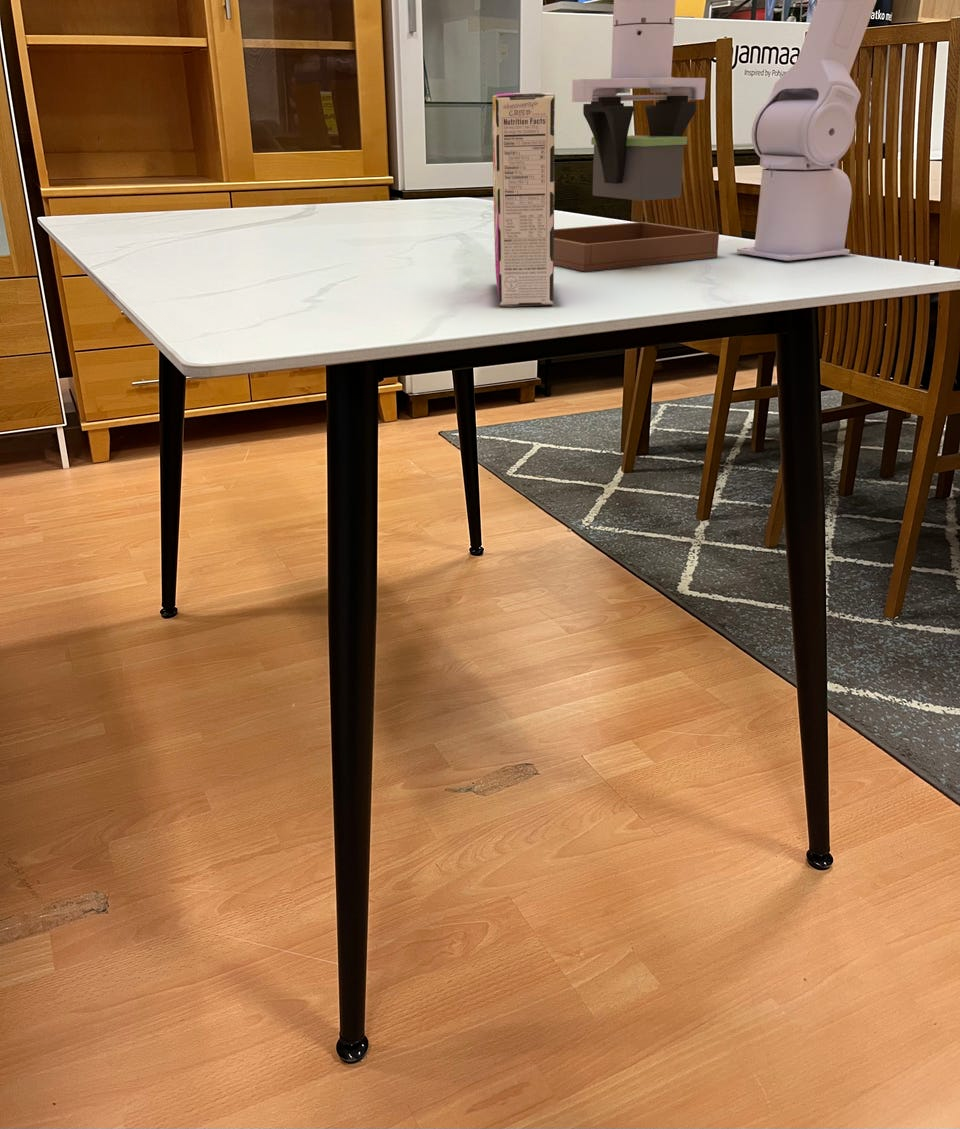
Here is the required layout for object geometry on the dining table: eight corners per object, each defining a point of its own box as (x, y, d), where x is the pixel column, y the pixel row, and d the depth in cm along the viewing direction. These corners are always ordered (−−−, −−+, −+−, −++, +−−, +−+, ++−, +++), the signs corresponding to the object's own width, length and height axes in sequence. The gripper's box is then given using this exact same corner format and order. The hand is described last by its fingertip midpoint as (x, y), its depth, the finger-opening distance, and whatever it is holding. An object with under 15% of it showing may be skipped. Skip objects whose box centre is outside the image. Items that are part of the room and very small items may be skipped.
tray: (641, 244, 116) (643, 221, 115) (717, 257, 105) (719, 232, 104) (516, 256, 109) (516, 232, 108) (583, 271, 98) (584, 245, 97)
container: (631, 192, 101) (634, 135, 99) (683, 197, 94) (687, 136, 92) (589, 195, 99) (591, 137, 96) (639, 201, 92) (642, 138, 90)
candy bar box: (493, 285, 91) (491, 93, 84) (545, 284, 91) (548, 92, 84) (495, 307, 81) (493, 91, 74) (554, 306, 81) (558, 90, 74)
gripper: (605, 21, 84) (599, 187, 90) (731, 24, 90) (718, 179, 96) (560, 27, 89) (558, 183, 95) (682, 29, 96) (673, 176, 102)
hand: (636, 181), depth 96 cm, fingers closed on container, 5 cm apart
